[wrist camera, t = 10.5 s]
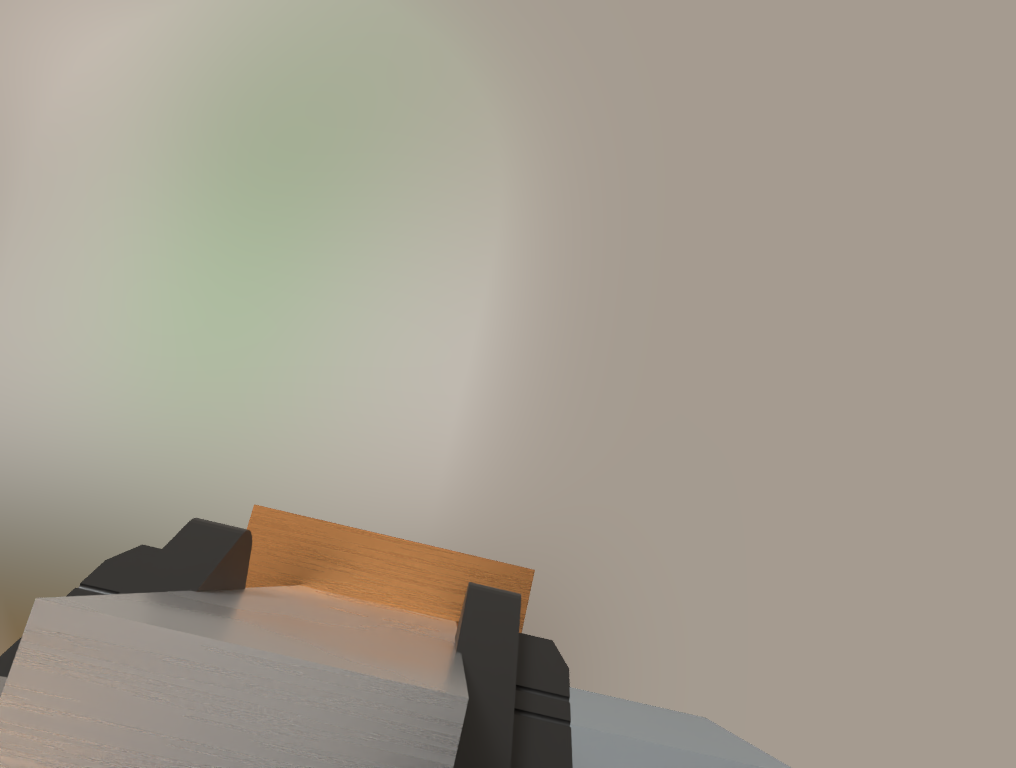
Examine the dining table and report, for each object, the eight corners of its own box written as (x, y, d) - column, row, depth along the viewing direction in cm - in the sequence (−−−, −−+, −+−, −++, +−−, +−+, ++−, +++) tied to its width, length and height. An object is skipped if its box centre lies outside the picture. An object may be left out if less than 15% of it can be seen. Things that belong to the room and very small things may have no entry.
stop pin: (254, 737, 21) (313, 526, 22) (461, 785, 21) (508, 572, 22) (-472, 1333, 4) (-74, 381, 6) (511, 1541, 5) (677, 556, 6)
